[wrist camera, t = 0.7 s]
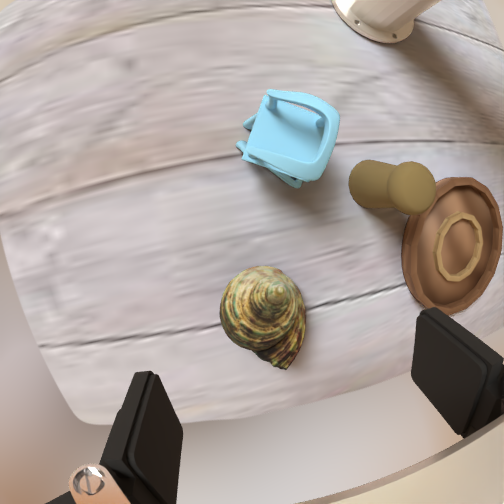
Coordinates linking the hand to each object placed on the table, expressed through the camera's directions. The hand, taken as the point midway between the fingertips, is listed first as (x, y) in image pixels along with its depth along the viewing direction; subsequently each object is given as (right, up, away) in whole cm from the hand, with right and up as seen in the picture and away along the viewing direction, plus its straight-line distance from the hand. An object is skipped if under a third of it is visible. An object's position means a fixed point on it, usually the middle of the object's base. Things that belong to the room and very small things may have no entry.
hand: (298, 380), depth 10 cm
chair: (+1, +16, +24) cm, 29 cm away
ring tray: (+28, +5, +28) cm, 41 cm away
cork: (+13, +13, +26) cm, 31 cm away
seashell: (-1, -2, +28) cm, 28 cm away
